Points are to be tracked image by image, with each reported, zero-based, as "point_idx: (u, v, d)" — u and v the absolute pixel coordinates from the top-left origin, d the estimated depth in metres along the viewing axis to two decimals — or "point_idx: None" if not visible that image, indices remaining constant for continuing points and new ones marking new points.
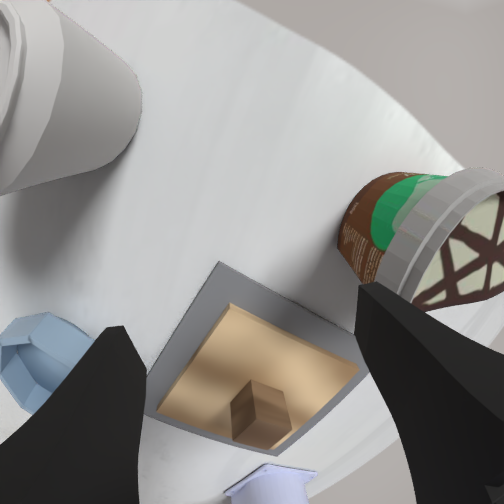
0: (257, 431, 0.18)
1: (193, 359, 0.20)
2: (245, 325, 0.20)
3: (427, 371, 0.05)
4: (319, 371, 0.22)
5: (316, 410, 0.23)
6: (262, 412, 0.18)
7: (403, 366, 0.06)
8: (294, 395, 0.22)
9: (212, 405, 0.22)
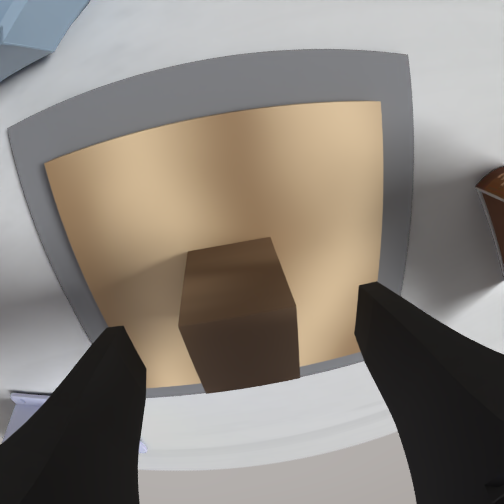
0: (252, 340, 0.08)
1: (238, 111, 0.09)
2: (369, 144, 0.10)
3: (427, 371, 0.05)
4: (344, 311, 0.13)
5: None
6: None
7: (403, 367, 0.06)
8: None
9: (152, 231, 0.10)
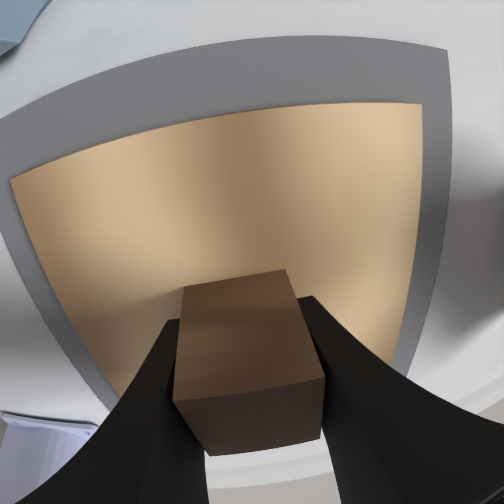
0: (267, 412, 0.06)
1: (247, 111, 0.07)
2: (408, 156, 0.08)
3: (339, 401, 0.05)
4: (365, 345, 0.11)
5: None
6: None
7: (325, 390, 0.06)
8: None
9: (140, 263, 0.08)
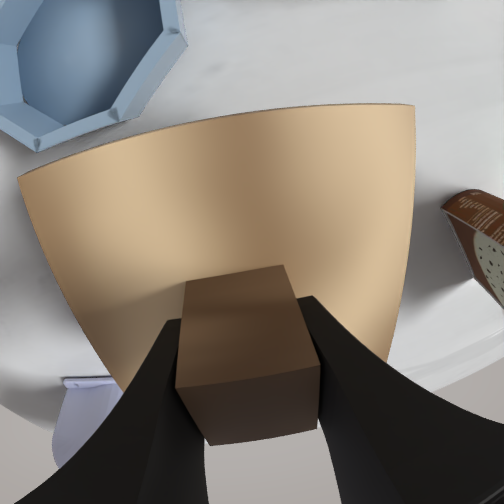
0: (265, 400, 0.06)
1: (247, 113, 0.07)
2: (401, 155, 0.08)
3: (339, 400, 0.05)
4: (362, 340, 0.11)
5: None
6: None
7: (325, 390, 0.06)
8: None
9: (143, 259, 0.09)
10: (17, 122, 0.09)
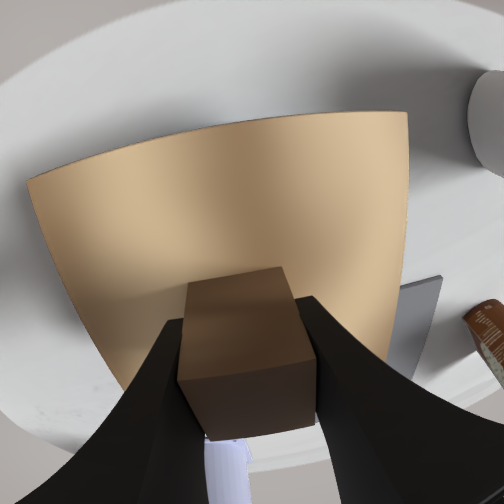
0: (263, 394, 0.06)
1: (246, 122, 0.08)
2: (395, 160, 0.08)
3: (339, 401, 0.05)
4: (360, 341, 0.12)
5: None
6: None
7: (325, 390, 0.06)
8: None
9: (147, 260, 0.09)
10: None
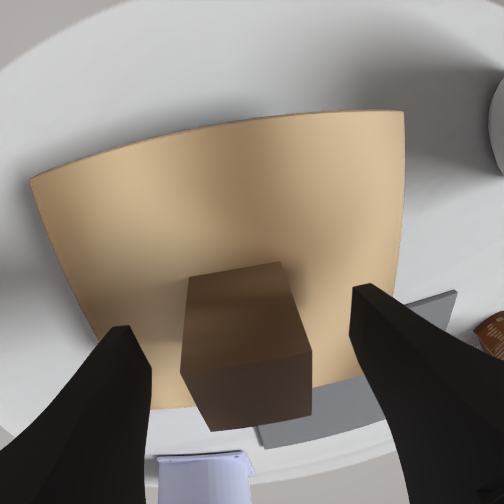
0: (262, 385, 0.07)
1: (245, 121, 0.08)
2: (391, 159, 0.09)
3: (419, 374, 0.05)
4: None
5: None
6: None
7: (396, 369, 0.06)
8: None
9: (149, 256, 0.09)
10: None
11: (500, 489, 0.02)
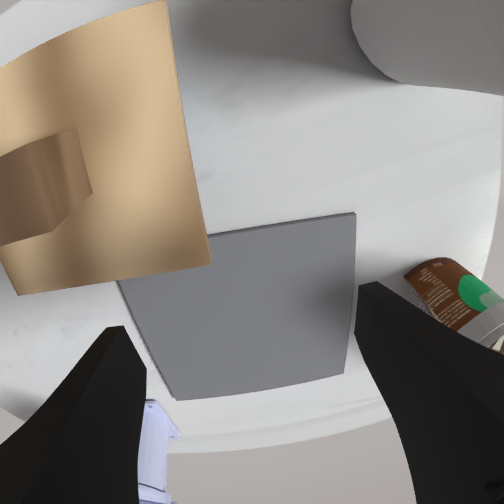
0: (7, 182, 0.07)
1: (54, 38, 0.08)
2: (154, 34, 0.09)
3: (427, 371, 0.05)
4: (162, 206, 0.12)
5: (106, 278, 0.14)
6: (43, 156, 0.08)
7: (403, 367, 0.06)
8: (100, 216, 0.12)
9: (5, 136, 0.10)
10: None
11: None
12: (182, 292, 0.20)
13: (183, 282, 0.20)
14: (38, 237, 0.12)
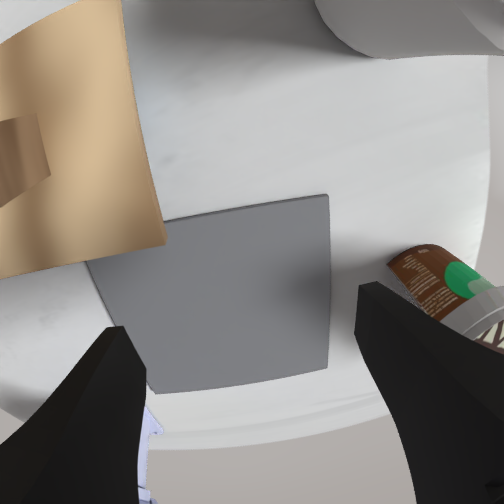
0: None
1: (19, 32, 0.07)
2: (105, 20, 0.08)
3: (427, 371, 0.05)
4: (114, 185, 0.12)
5: (66, 260, 0.13)
6: None
7: (403, 367, 0.06)
8: (58, 198, 0.12)
9: None
10: None
11: None
12: (150, 280, 0.19)
13: (151, 268, 0.19)
14: (5, 221, 0.12)
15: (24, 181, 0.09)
